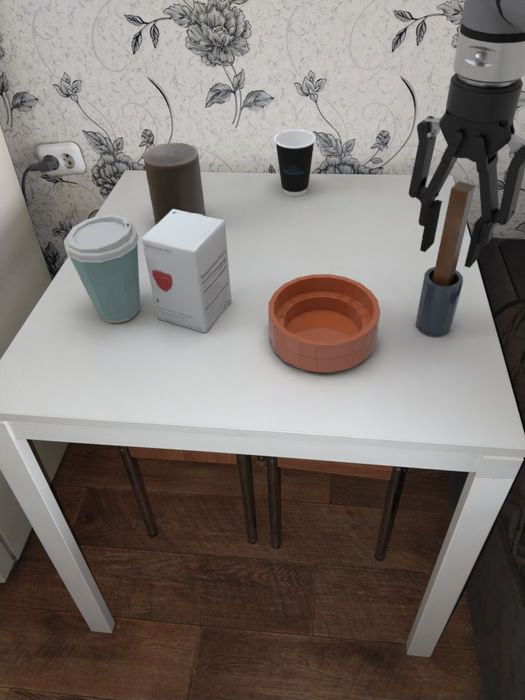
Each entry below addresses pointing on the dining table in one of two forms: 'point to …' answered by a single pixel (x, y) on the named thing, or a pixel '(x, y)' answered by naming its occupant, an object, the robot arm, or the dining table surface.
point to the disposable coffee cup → (107, 264)
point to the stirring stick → (453, 233)
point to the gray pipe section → (437, 305)
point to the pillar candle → (174, 179)
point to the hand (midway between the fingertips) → (448, 254)
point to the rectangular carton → (188, 269)
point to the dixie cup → (295, 160)
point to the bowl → (323, 322)
